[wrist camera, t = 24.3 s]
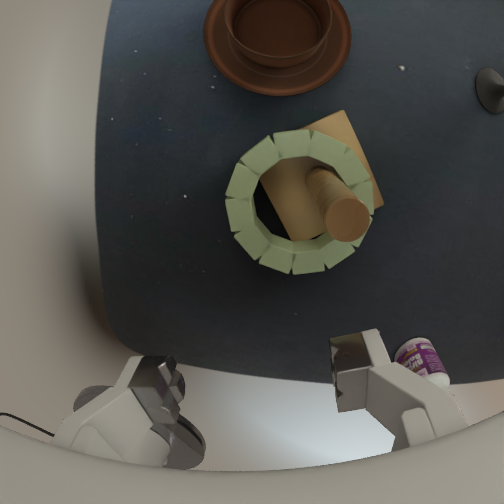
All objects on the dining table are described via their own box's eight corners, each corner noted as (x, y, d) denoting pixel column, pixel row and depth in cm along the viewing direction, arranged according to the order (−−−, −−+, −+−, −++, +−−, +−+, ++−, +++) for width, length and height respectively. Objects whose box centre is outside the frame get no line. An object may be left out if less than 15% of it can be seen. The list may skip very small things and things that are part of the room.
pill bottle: (404, 333, 33) (431, 392, 24) (437, 337, 33) (467, 391, 24) (386, 365, 35) (405, 424, 26) (418, 368, 35) (440, 422, 26)
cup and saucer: (189, 8, 21) (167, -17, 15) (313, -32, 18) (321, -64, 12) (238, 117, 25) (227, 116, 19) (367, 76, 22) (391, 65, 17)
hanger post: (293, 240, 29) (303, 320, 18) (247, 154, 26) (225, 180, 15) (379, 200, 27) (441, 256, 15) (339, 110, 24) (390, 103, 12)
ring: (243, 268, 29) (241, 281, 27) (219, 141, 24) (213, 144, 22) (367, 252, 27) (374, 264, 25) (358, 124, 23) (366, 124, 21)
